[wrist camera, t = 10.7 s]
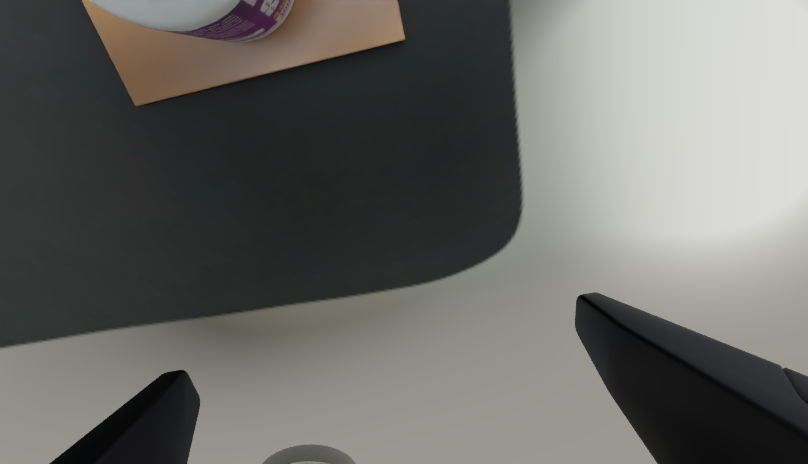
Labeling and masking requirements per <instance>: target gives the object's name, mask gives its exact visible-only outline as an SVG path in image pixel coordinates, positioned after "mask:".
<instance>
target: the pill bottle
mask: <svg viewBox="0 0 808 464" xmlns="http://www.w3.org/2000/svg"><path fill="white" fill-rule="evenodd" d="M89 1H90V2H92V3H93V4H95V5H96V6H98V7H100V8H101V9H103V10H105V11H106V12H108V13H110V14H112V15H114V16H116V17H119V18H121V19H123V20H125V21H128V22H130V23H133V24H136V25H139V26H142V27H146V28H150V29H154V30H161V31H167V32H172V33H177V34H182V35H189V36H195V37H201V38H207V39H212V40H218V41H227V42H249V41H253V40H257V39H260V38H263V37H265V36H267V35H268V34H270V33H271V32H273V31H274V30H275V29H277V28H278V27H279V26H280V25H281V24H282V23H283V21H284V20H285V18H286V17H287V15H288V14H289V12H290V10H291V8H292V5H293V3H294V0H89Z"/></svg>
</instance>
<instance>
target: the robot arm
mask: <svg viewBox="0 0 808 464" xmlns="http://www.w3.org/2000/svg"><path fill="white" fill-rule="evenodd" d="M575 327H576V331H577V333H578V336H579V337H580V339H581V341H582V343H583V345H584V347H585V349H586V350H587V352H588V354H589V356H590V358H591V360H592V361H593V363H594V365H595V367H596V369H597V371H598V373H599V374H600V376H601V378H602V380H603V382H604V384H605V385H606V387H607V389H608V391H609V392H610V394H611V396H612V397H613V399H614V400H615V402H616V403H617V405H618V406H619V408H620V409H621V410H622V412H623V413H624V415H625V416H626V418H627V419H628V421H629V422H630V424H631V425H632V427H633V428H634V430H635V431H636V432H637V434H638V435H639V437H640V438H641V440H642V441H643V443H644V444H645V446H646V447H647V449H648V450H649V452H650V453H651V455H652V456H653V457H654V459H655V460H656V462H657V463H658V464H808V376H805V375H803V374H800V373H798V372H795V371H793V370H790V369H788V368H783V369H782V367H781V366H780V365H778V364H775V363H773V362H770V361H767V360H765V359H762V358H760V357H757V356H755V355H752V354H750V353H747V352H745V351H742V350H740V349H737V348H735V347H732V346H730V345H727V344H725V343H722V342H720V341H717V340H715V339H712V338H710V337H707V336H705V335H702V334H700V333H697V332H695V331H692V330H690V329H687V328H685V327H682V326H680V325H677V324H674V323H672V322H669V321H667V320H664V319H662V318H659V317H657V316H654V315H652V314H649V313H647V312H644V311H641V310H639V309H637V308H634V307H632V306H629V305H627V304H624V303H622V302H619V301H617V300H614V299H612V298H609V297H606V296H604V295H602V294H599V293H589V294H583V295H580V296H578V298H577V301H576V316H575ZM199 407H200V398H199V395H198V393H197V391H196V389H195V387H194V385H193V383H192V381H191V379H190V377H189V375H188V374H187V372H186V371H184V370H178V371H172V372H167V373H164V374H162V375H161V376H159V378H157V379H156V380H154V381H153V382H152V383H151V384H149V385H148V386H147V387H146V388H144V389H143V390H142V391H141V392H139V393H138V394H137V395H136V396H134V397H133V398H132V399H130V400H129V401H128V402H127V403H125V404H124V405H123V406H122V407H121V408H119V409H118V410H117V411H115V412H114V413H113V414H112V415H110V416H109V417H108V418H107V419H105V420H104V421H103V422H102V423H100V424H99V425H98V426H96V427H95V428H94V429H93V430H91V431H90V432H89V433H88V434H86V435H85V436H84V437H83V438H81V439H80V440H79V441H78V442H76V443H75V444H74V445H73V446H71V447H70V448H69V449H68V450H66V451H65V452H64V453H62V454H61V455H60V456H59V457H58V458H56V459H55V460H54V461H52V462H51V463H50V464H187V461H188V457H189V452H190V447H191V443H192V439H193V434H194V430H195V425H196V421H197V417H198V412H199Z"/></svg>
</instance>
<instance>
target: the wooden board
mask: <svg viewBox="0 0 808 464" xmlns="http://www.w3.org/2000/svg"><path fill="white" fill-rule="evenodd" d="M82 2H83V4H84V6H85V8H86V10H87V12H88V14H89V16H90V18H91V20H92V22H93V24H94V26H95V28H96V30H97V32H98V34H99V36H100V38H101V40H102V42H103V44H104V46H105V48H106V50H107V52H108V53H109V55H110V57H111V59H112V61H113V63H114V65H115V67H116V69H117V71H118V73H119V75H120V77H121V79H122V81H123V83H124V85H125V87H126V89H127V91H128V93H129V95H130V97H131V99H132V101H133V103H134V105H135V106H140V105H144V104H148V103H153V102H157V101H161V100H165V99H169V98H173V97H177V96H181V95H185V94H189V93H193V92H197V91H201V90H205V89H209V88H213V87H217V86H221V85H225V84H229V83H233V82H237V81H241V80H245V79H250V78H254V77H258V76H262V75H266V74H270V73H274V72H278V71H282V70H286V69H290V68H294V67H298V66H302V65H306V64H310V63H314V62H318V61H322V60H326V59H330V58H334V57H338V56H343V55H347V54H351V53H355V52H359V51H363V50H367V49H371V48H375V47H379V46H383V45H387V44H391V43H395V42H399V41H403V40H405V35H404V30H403V25H402V20H401V15H400V9H399V4H398V0H294V3H293V5H292V8H291V10H290V12H289V14H288V15H287V17H286V18H285V20H284V21H283V23H282V24H281V25H280V26H279V27H278V28H277V29H275V30H274V31H273V32H271V33H270V34H268V35H267V36H265V37H263V38H260V39H257V40H253V41H249V42H227V41H218V40H212V39H207V38H201V37H195V36H189V35H182V34H177V33H172V32H167V31H161V30H154V29H150V28H146V27H142V26H139V25H136V24H133V23H130V22H128V21H125V20H123V19H121V18H119V17H116V16H114V15H112V14H110V13H108V12H106V11H105V10H103V9H101V8H100V7H98V6H96V5H95V4H93V3H92V2H90V1H89V0H82Z"/></svg>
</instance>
